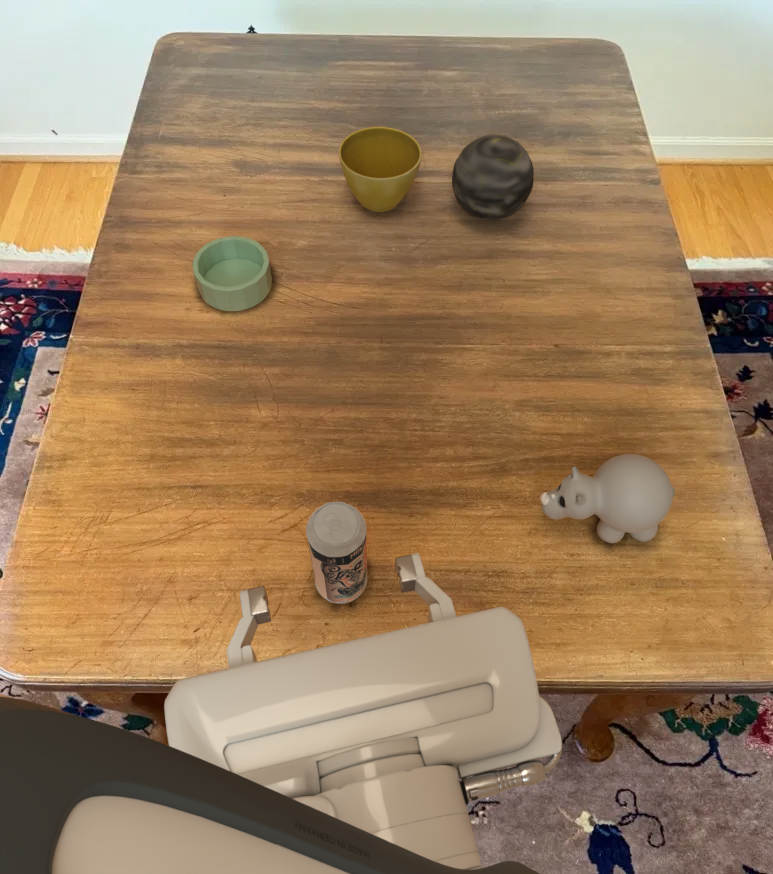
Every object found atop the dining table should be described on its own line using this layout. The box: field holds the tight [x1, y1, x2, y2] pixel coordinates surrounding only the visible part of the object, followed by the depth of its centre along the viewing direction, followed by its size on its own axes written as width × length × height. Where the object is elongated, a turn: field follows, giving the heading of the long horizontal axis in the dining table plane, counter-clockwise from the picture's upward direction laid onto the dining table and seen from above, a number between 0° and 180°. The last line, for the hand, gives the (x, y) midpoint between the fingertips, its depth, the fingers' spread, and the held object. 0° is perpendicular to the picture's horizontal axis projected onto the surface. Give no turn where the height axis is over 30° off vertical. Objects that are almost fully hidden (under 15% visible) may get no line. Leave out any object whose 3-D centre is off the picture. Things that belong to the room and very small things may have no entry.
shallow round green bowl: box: [191, 235, 273, 312], centre depth 86 cm, size 9×9×4 cm
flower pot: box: [338, 126, 423, 213], centre depth 93 cm, size 10×10×7 cm
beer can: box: [305, 501, 368, 604], centre depth 63 cm, size 5×5×12 cm
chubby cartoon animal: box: [539, 453, 676, 544], centre depth 69 cm, size 7×12×8 cm, turn 91°
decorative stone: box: [451, 133, 535, 222], centre depth 91 cm, size 10×10×10 cm
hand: (330, 574), depth 45 cm, fingers open, 8 cm apart
